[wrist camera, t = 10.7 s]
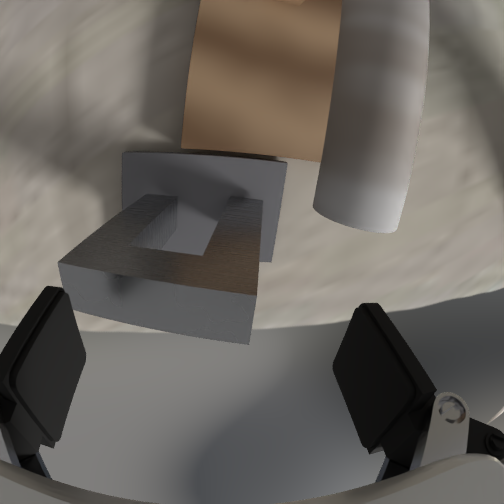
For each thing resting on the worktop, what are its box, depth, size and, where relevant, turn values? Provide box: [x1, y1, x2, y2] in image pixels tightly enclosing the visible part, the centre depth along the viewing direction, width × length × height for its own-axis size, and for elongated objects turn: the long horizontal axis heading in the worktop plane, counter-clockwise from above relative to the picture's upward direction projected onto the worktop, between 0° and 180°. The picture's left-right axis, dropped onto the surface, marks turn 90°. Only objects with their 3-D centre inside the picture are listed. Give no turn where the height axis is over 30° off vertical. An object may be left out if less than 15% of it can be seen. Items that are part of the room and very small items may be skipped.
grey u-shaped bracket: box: [58, 194, 263, 345], centre depth 15 cm, size 8×2×11 cm, turn 83°
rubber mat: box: [122, 152, 288, 262], centre depth 20 cm, size 11×8×1 cm
